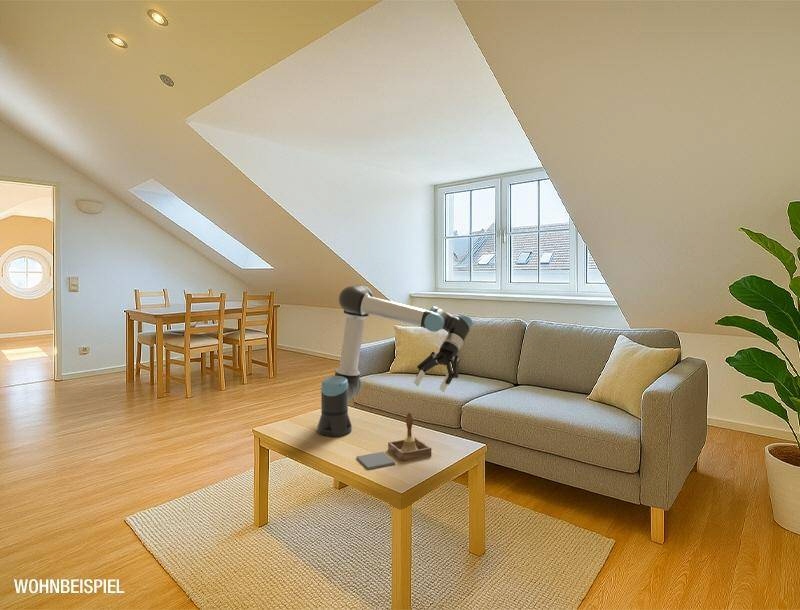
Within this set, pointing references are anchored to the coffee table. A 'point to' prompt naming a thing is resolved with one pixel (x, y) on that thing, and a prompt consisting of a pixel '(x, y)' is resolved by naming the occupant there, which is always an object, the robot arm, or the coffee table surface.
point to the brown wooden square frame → (404, 456)
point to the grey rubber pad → (375, 460)
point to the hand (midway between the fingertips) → (428, 387)
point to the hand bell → (409, 436)
